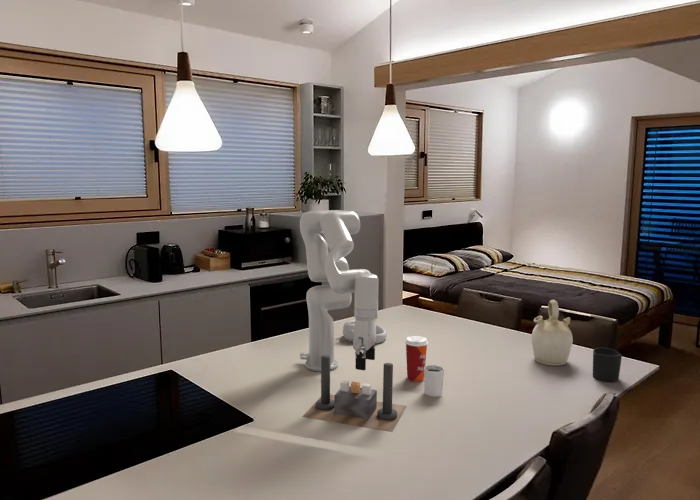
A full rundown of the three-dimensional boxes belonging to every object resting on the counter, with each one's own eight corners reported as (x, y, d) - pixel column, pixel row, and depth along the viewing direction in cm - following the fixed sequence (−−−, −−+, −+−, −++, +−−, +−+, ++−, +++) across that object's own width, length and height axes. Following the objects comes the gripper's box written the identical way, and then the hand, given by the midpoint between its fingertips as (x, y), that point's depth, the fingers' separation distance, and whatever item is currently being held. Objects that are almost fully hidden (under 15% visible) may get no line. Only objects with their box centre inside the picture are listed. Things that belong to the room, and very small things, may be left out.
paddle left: (340, 390, 164) (339, 382, 163) (342, 388, 165) (341, 379, 164) (348, 391, 163) (347, 383, 162) (349, 389, 164) (348, 381, 163)
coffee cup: (426, 383, 189) (427, 343, 187) (403, 381, 191) (404, 341, 189) (427, 375, 197) (428, 336, 195) (405, 373, 199) (406, 334, 197)
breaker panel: (302, 421, 160) (301, 397, 159) (324, 397, 177) (324, 376, 176) (392, 436, 151) (392, 411, 150) (406, 410, 168) (407, 387, 167)
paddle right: (362, 394, 161) (361, 385, 160) (363, 391, 163) (363, 383, 162) (369, 395, 161) (369, 386, 160) (371, 392, 162) (370, 384, 161)
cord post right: (374, 418, 159) (375, 366, 156) (380, 410, 164) (381, 360, 162) (394, 422, 157) (395, 369, 154) (399, 413, 162) (400, 362, 160)
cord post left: (312, 408, 165) (312, 358, 163) (320, 401, 171) (320, 352, 168) (330, 411, 163) (331, 361, 161) (337, 403, 169) (338, 354, 166)
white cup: (430, 402, 174) (431, 373, 172) (419, 395, 179) (419, 366, 178) (447, 398, 177) (448, 370, 175) (435, 391, 183) (436, 363, 181)
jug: (529, 364, 209) (532, 302, 206) (531, 352, 223) (535, 294, 220) (571, 370, 204) (575, 306, 200) (570, 357, 218) (575, 297, 214)
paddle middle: (351, 392, 163) (350, 384, 162) (352, 389, 164) (352, 381, 163) (358, 393, 162) (358, 385, 161) (360, 390, 163) (359, 382, 162)
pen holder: (623, 377, 196) (625, 351, 195) (614, 385, 189) (617, 358, 188) (596, 371, 202) (598, 346, 201) (587, 378, 196) (589, 351, 194)
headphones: (341, 343, 232) (386, 350, 232) (343, 326, 231) (389, 333, 231) (342, 331, 250) (384, 337, 250) (344, 315, 249) (386, 321, 249)
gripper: (363, 305, 178) (362, 354, 181) (345, 318, 162) (345, 372, 165) (385, 307, 176) (384, 357, 178) (369, 321, 159) (368, 375, 162)
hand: (365, 364), depth 171 cm, fingers open, 9 cm apart
